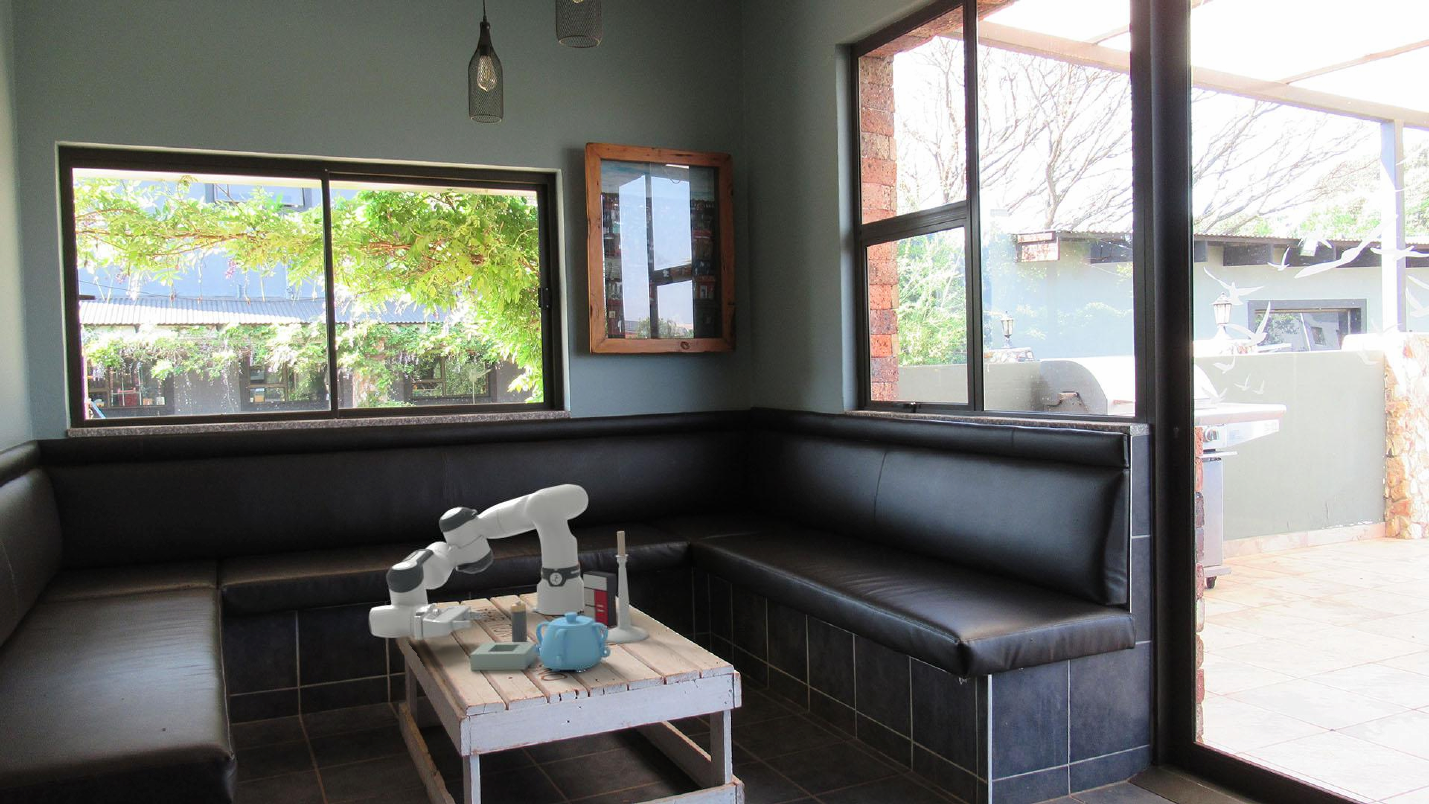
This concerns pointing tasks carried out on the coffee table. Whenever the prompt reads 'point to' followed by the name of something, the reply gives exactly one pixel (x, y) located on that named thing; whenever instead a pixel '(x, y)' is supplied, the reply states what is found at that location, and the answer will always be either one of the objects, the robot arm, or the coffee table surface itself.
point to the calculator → (600, 597)
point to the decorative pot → (572, 643)
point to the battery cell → (518, 622)
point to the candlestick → (624, 604)
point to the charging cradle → (503, 656)
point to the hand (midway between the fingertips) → (476, 619)
